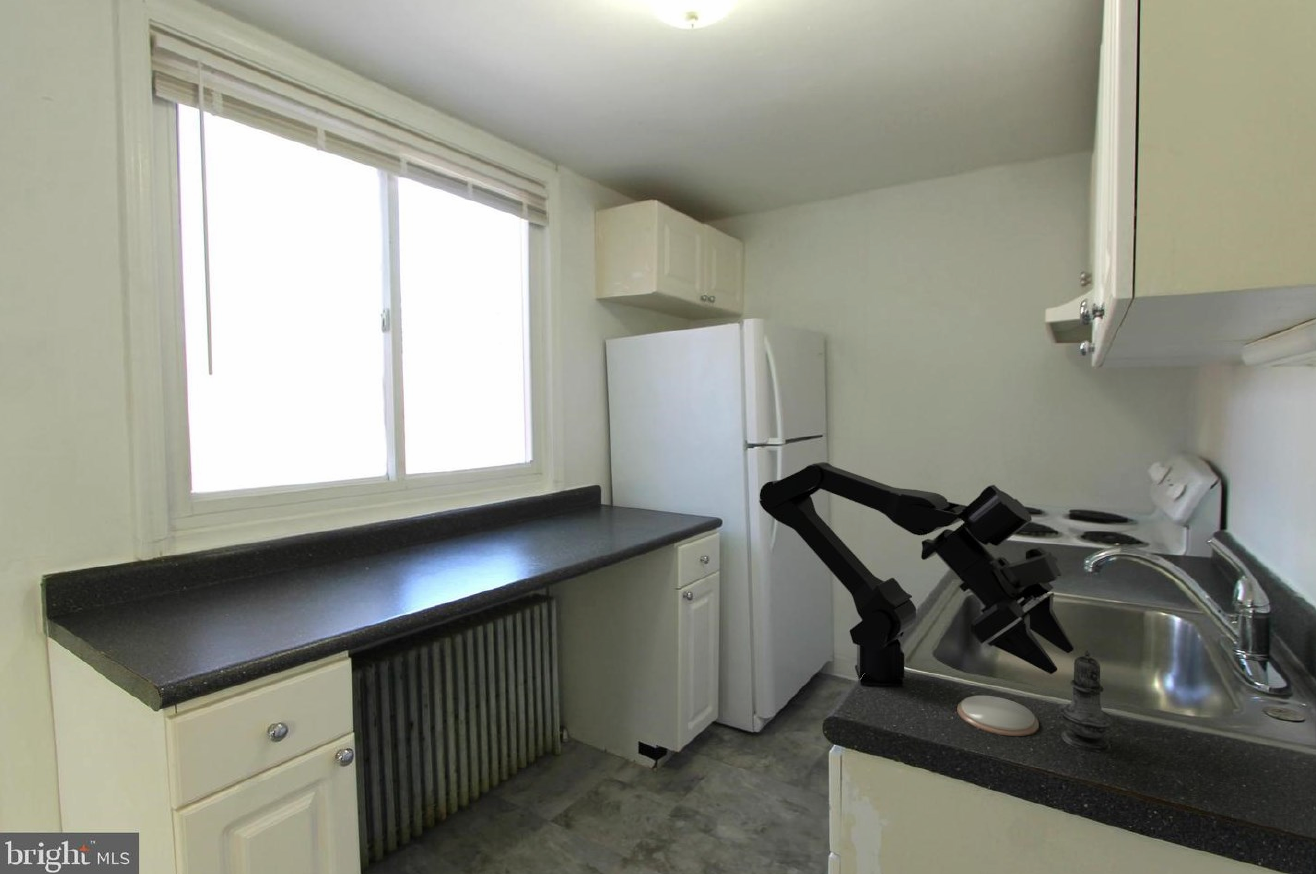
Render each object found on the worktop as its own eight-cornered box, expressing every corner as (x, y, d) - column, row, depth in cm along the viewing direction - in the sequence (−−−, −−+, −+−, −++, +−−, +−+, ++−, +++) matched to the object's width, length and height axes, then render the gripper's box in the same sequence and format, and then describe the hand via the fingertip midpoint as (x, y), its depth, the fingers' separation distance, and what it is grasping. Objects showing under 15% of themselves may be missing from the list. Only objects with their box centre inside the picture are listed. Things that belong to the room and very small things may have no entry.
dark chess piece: (1068, 750, 80) (1070, 657, 79) (1051, 727, 85) (1053, 640, 85) (1122, 756, 78) (1124, 661, 78) (1101, 732, 84) (1103, 644, 83)
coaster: (970, 733, 84) (970, 726, 84) (948, 698, 94) (948, 692, 94) (1051, 738, 82) (1052, 731, 82) (1020, 703, 92) (1021, 696, 92)
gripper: (997, 542, 80) (1102, 650, 72) (1036, 521, 93) (1128, 610, 86) (933, 592, 85) (1024, 696, 78) (979, 565, 99) (1061, 652, 91)
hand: (1063, 661), depth 83 cm, fingers open, 9 cm apart
